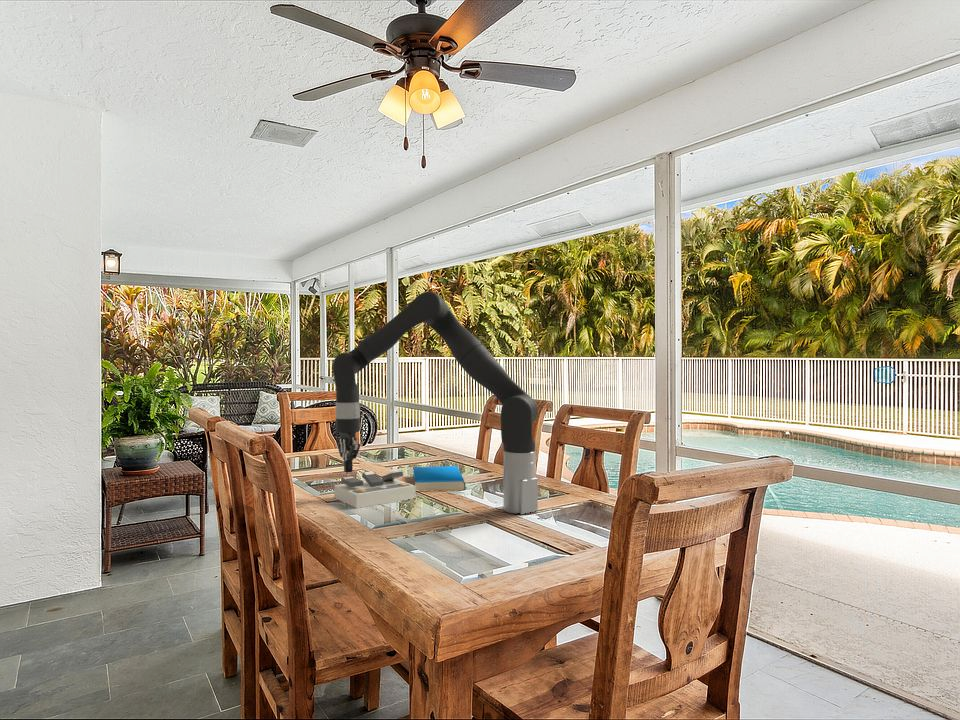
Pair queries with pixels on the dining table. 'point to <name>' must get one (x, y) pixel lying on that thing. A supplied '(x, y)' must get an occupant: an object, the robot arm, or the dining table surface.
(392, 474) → the rocker
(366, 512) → the dining table surface
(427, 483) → the book
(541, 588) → the dining table surface
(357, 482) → the rocker
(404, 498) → the switch unit
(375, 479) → the rocker
